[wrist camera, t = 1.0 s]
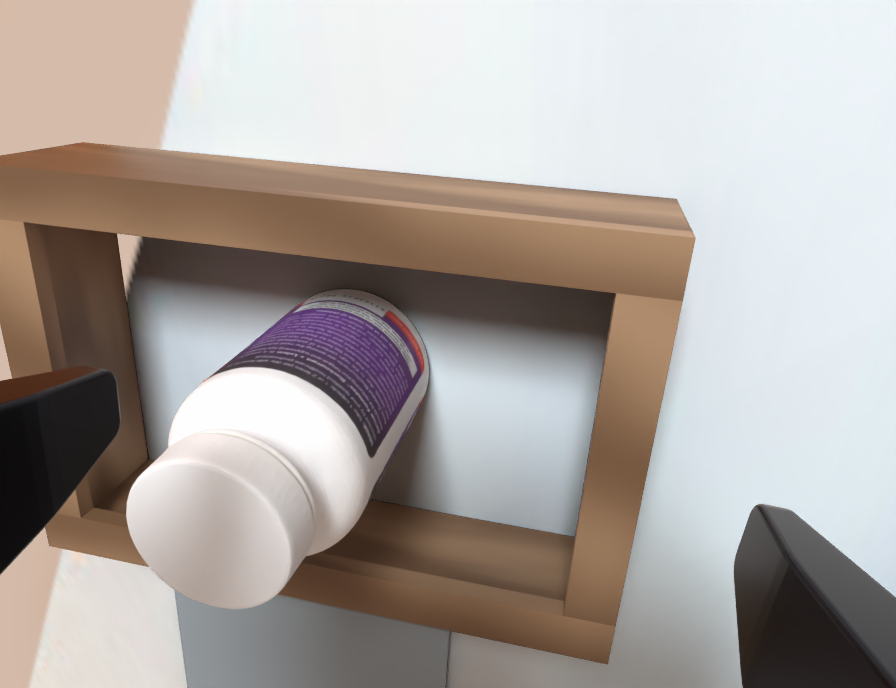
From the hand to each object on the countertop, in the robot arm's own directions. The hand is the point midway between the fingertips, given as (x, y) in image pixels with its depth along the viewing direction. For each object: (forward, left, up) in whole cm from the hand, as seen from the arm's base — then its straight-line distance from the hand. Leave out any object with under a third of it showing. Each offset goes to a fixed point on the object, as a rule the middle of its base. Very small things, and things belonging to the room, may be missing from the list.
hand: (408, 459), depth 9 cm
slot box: (-5, +5, -13) cm, 14 cm away
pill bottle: (-5, +5, -13) cm, 15 cm away
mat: (-22, +7, -13) cm, 26 cm away
